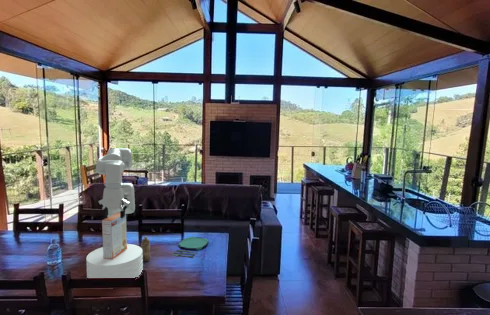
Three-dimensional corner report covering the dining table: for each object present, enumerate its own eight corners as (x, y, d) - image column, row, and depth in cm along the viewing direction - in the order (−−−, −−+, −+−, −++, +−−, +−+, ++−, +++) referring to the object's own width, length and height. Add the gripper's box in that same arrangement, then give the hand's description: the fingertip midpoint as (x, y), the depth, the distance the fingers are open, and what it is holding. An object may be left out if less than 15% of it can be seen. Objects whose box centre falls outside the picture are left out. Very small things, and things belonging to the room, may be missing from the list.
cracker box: (117, 248, 172) (116, 212, 170) (127, 248, 171) (126, 212, 169) (102, 258, 158) (101, 219, 156) (112, 259, 157) (112, 220, 155)
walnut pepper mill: (140, 261, 181) (139, 237, 179) (143, 257, 186) (143, 235, 184) (147, 261, 180) (147, 238, 179) (151, 258, 185) (151, 235, 184)
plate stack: (106, 260, 181) (105, 242, 180) (150, 264, 178) (150, 245, 177) (75, 285, 153) (74, 263, 152) (127, 289, 150) (127, 267, 149)
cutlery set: (212, 241, 215) (212, 238, 214) (195, 259, 186) (195, 256, 186) (186, 238, 220) (186, 235, 219) (166, 255, 191) (166, 252, 191)
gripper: (94, 186, 158) (95, 217, 160) (124, 188, 155) (125, 220, 157) (103, 183, 165) (103, 213, 167) (132, 185, 163) (132, 215, 165)
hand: (114, 216), depth 162 cm, fingers open, 9 cm apart
